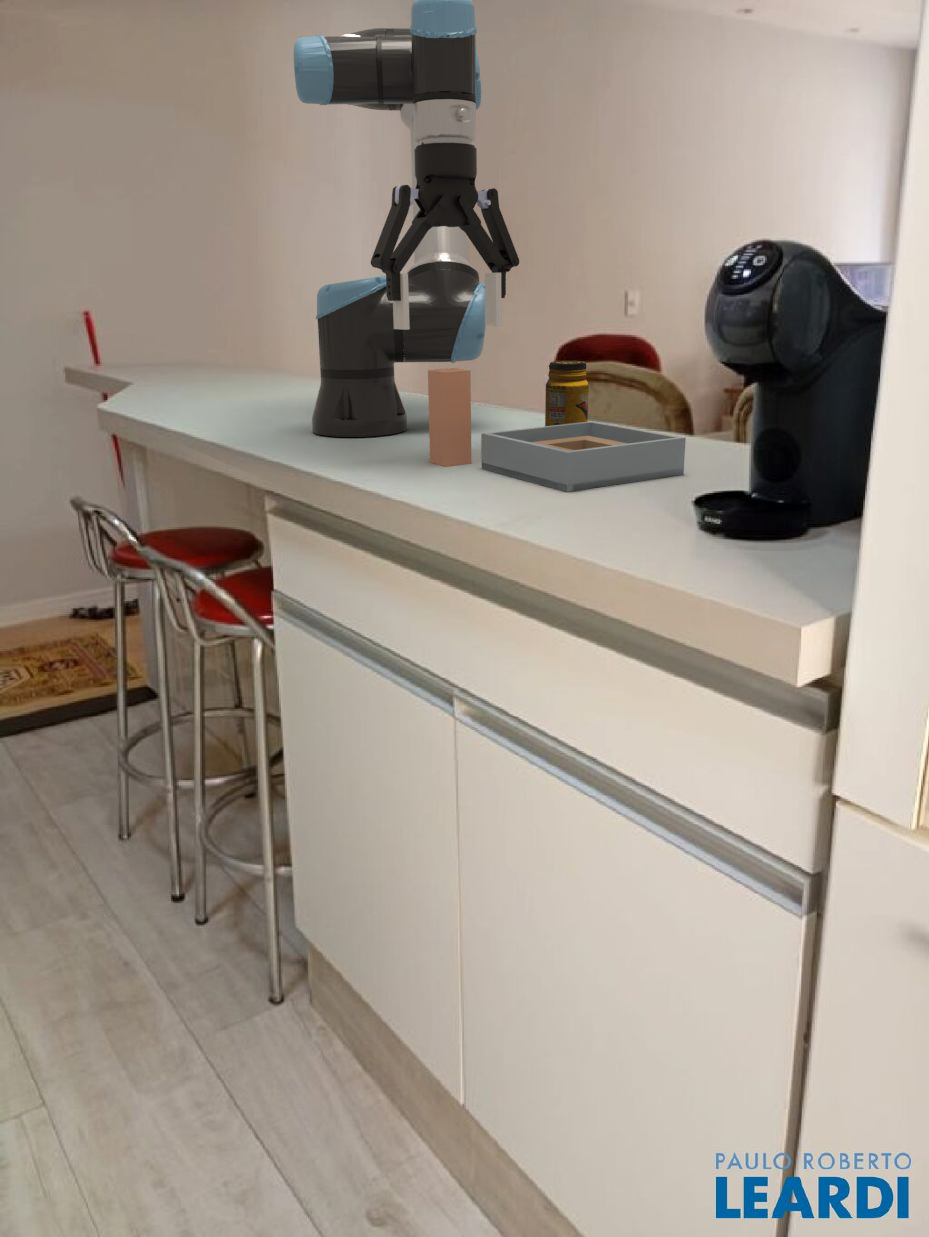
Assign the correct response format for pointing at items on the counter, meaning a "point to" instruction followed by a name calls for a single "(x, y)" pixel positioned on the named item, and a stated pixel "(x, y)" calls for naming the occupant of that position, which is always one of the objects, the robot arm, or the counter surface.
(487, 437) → the tray box
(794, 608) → the counter surface
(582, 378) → the condiment
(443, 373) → the peg
